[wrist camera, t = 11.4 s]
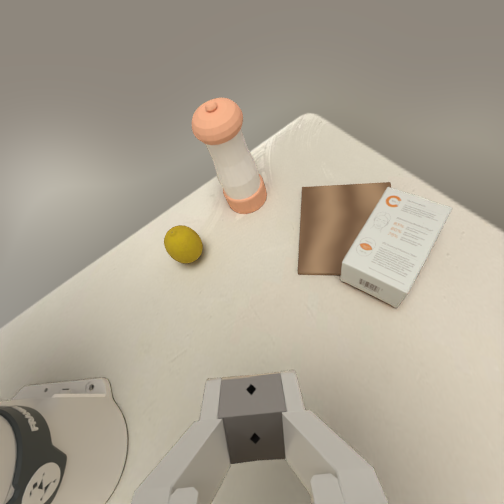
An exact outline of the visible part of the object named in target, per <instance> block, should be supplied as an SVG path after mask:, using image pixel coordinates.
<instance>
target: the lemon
mask: <svg viewBox="0 0 504 504" xmlns="http://www.w3.org/2000/svg"><path fill="white" fill-rule="evenodd" d="M164 245H165V248H166V251H167V252H168V254H169V255H170V256H171V257H172V258H173V259H174V260H176V261H178V262H181V263H191V262H193V261H195V260H197V259H198V258H199V256H200V255H201V253H202V248H203V245H202V241H201V239H200V237H199V235H198V234H197V233H196V232H195V231H194V230H192V229H191V228H189V227H186V226H175V227H173V228H171V229H170V230H169V231H168V232H167V233H166V235H165V238H164Z"/></svg>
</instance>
